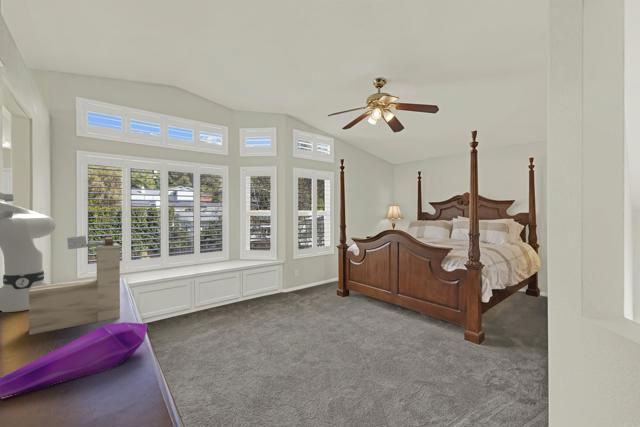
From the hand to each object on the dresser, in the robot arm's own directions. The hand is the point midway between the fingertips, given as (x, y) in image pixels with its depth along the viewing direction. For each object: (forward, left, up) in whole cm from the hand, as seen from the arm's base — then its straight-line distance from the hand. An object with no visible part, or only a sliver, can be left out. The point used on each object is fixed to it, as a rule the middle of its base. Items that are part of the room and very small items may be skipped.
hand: (13, 206), depth 93 cm
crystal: (+41, +17, -42) cm, 61 cm away
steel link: (+1, +20, -14) cm, 24 cm away
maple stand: (+1, +16, -41) cm, 44 cm away
